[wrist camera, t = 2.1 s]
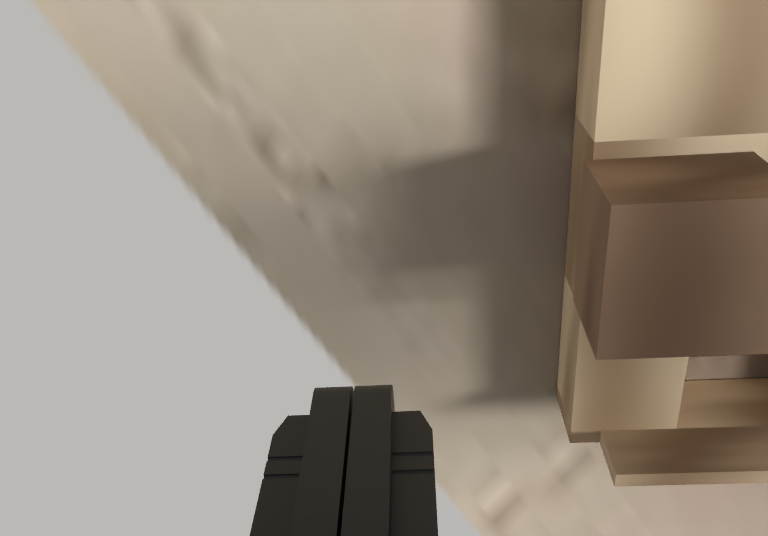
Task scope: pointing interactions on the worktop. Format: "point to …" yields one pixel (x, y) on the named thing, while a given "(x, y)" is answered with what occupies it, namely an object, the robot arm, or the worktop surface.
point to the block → (674, 256)
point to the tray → (649, 139)
